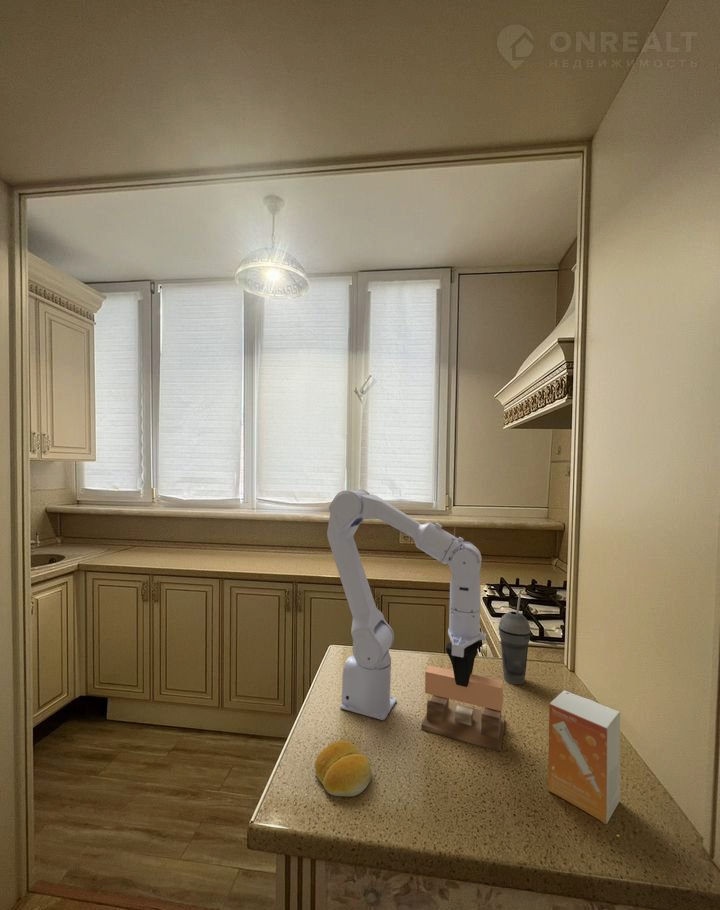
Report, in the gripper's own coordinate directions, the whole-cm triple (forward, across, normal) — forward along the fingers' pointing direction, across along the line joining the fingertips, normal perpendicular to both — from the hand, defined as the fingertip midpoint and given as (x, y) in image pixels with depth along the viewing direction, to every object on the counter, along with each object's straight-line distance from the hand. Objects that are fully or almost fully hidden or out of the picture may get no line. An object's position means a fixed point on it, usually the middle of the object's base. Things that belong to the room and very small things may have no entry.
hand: (463, 680), depth 76 cm
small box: (+9, -9, -19) cm, 23 cm away
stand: (+8, +1, 0) cm, 8 cm away
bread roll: (+9, -21, +15) cm, 27 cm away
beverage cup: (+9, +24, -8) cm, 26 cm away
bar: (+3, 0, 0) cm, 3 cm away
